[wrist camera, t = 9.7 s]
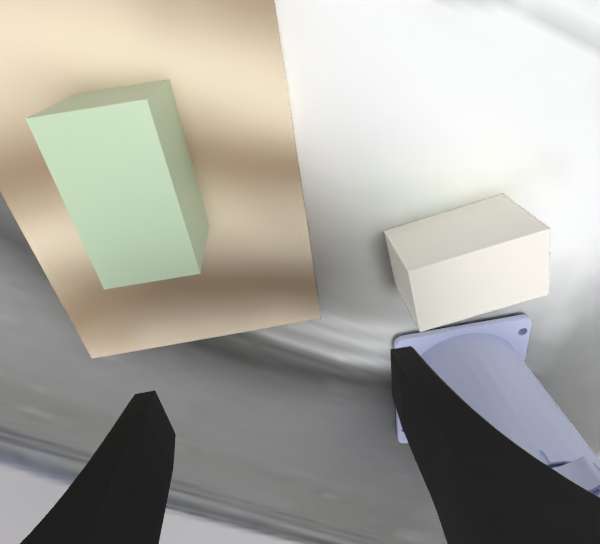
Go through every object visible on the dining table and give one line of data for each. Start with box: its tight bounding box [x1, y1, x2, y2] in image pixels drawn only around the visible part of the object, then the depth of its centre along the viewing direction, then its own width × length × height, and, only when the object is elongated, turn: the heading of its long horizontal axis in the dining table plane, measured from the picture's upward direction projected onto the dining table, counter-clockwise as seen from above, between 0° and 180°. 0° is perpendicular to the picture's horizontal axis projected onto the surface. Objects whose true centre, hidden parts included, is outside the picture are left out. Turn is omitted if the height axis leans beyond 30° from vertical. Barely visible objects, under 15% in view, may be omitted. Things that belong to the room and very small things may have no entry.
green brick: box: [26, 79, 209, 290], centre depth 16 cm, size 6×4×4 cm, turn 8°
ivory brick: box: [384, 194, 550, 332], centre depth 20 cm, size 6×4×4 cm, turn 107°
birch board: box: [0, 0, 321, 358], centre depth 18 cm, size 18×12×1 cm, turn 8°
